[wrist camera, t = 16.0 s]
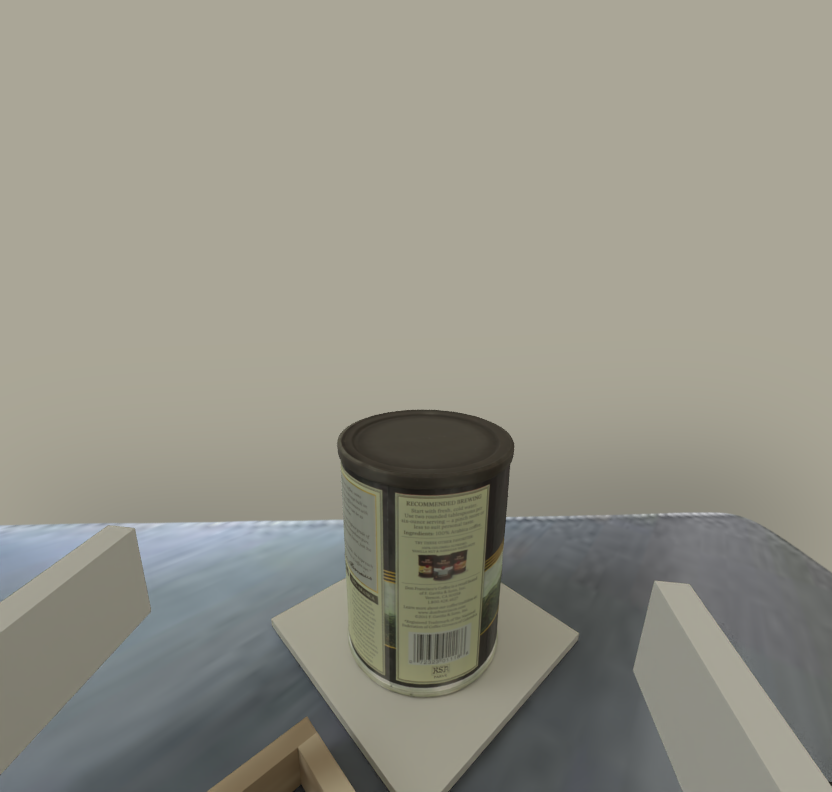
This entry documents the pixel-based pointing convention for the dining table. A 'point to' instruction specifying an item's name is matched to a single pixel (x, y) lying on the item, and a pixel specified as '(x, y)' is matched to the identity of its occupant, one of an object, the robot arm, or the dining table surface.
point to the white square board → (423, 716)
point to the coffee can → (424, 546)
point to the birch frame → (289, 766)
